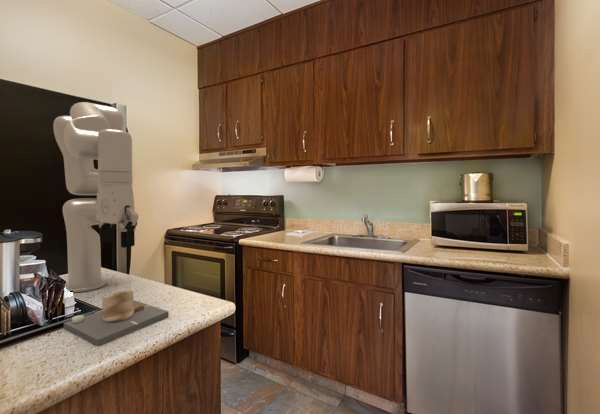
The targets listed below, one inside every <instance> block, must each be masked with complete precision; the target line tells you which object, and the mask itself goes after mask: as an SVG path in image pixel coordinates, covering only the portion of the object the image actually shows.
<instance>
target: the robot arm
mask: <svg viewBox="0 0 600 414" xmlns="http://www.w3.org/2000/svg"><path fill="white" fill-rule="evenodd" d="M124 121H125V120H124V116H123V114H122V112H121V111H120V110H119V109H118V108H116V107H113V106H109V105H103V104H98V103H95V102H94V103H93V102H87V101H82V102H77V103H74V104H73V105H71V107H70V110H69V115H60V116H57V117H56V118H55V119H54V121H53V126H52V127H53V134H54V137H55V141H56V143H57V145H58V147H59V150H60V152H61V154H62V157H63V164H64V166H63V167H64V177H65V185H66V189H67V191H68V193H70V194H72V195H75V196H96V197H95V198H94V197H93V198H92V197H87V198H86V197H85V198H83V197H81V198H78V197H77V198H73V199H72V198H71V199H69V200H67V201H66V202H64V204H63V205H62V216H63V219H64V225H65V231H66V245H67V248H66V249H67V275H68V276H67V277H68V278H67V279H68V280H67V281H68V282H67V283H65V284H66V289H67V290H69V291H73V292H72V293H80V292H89V291H93V290H97V289H99V288H102V287H105V286H106V285H107V279H105V278H102V256H101V255H102V253H101V251H102V250H101V249H102V248H101V244H106V243H107V244H108V243H113V242H114V239H115V238H114V227H113V225H117V224H119V227H120V228H121V230H122V231H120V248H123V249H124V248H131V247H135V245H136V244H135V231H136V230H137V228H136V227H137V226H138V219H139V214H138V213H137V212H136V211H135V209H136V208H135V200H134V199H135V197H134V196H135V195H134V191H133V138H132V135H131V134H130V133H129V132H127V131H125V130H123V129H124V125H125V122H124ZM94 160H96V161H97V168H95V167H94V166H95V164H94ZM96 225H98V228H99V233H98V232H97V230H95V229H94V228H92V226H96Z"/></svg>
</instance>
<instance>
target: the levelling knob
mask: <svg viewBox="0 0 600 414" xmlns="http://www.w3.org/2000/svg"><path fill="white" fill-rule="evenodd" d="M101 304H102V305H101V306H102V307H101V309H102V310H101V311H102V317H103V321H104V322H110V323H111V322H120V321H124V320H127V319H129V318H131V317H132V316H133V315H134V312H135V311H138V310H142V309H144V306H143V305H141V306H138V307H134V290H133V289H131V288H130V289H126V290H124V291H119V292H115V293H111V294H108V295H103V296H101Z"/></svg>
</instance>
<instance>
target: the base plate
mask: <svg viewBox="0 0 600 414" xmlns="http://www.w3.org/2000/svg"><path fill="white" fill-rule="evenodd" d="M133 300H134V299H133ZM141 305H143V306H144V309H142V310H138V311H135V312H134V315H133V316H132V317H131V318H129V319H127V320H124V321H120V322H111V323H110V322H104V321H103V317H102V310H99V311H96V312H92V313H90V314H87V315H84V314H80V315H79V314H78V315H74V316H73V317H72V318H71V320H68V321H66V322H63V330H65V331H67V332H69V333H71V334H73V335H75V336H77V337H79V338H81V339H83V340H85V341H87V342H89V343H91V344H93V345H95V346H97V347H100V346H102V345H105V344H106V343H110V342H112V341H114V340H116V339H118V338H121V337H123V336H126V335H128V334H131V333H133V332H135V331H136V332H137V330H140V329H143V328H145V327H147V326H150V325H151V324H155V323H157V322H159V321H162V320H164V319H166V318H168V317H169V311H168V310H165V309H162V308H159V307H157V306H153V305H151V304H147V303H144V302H141V301H138V300H134V307H138V306H141Z"/></svg>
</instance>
